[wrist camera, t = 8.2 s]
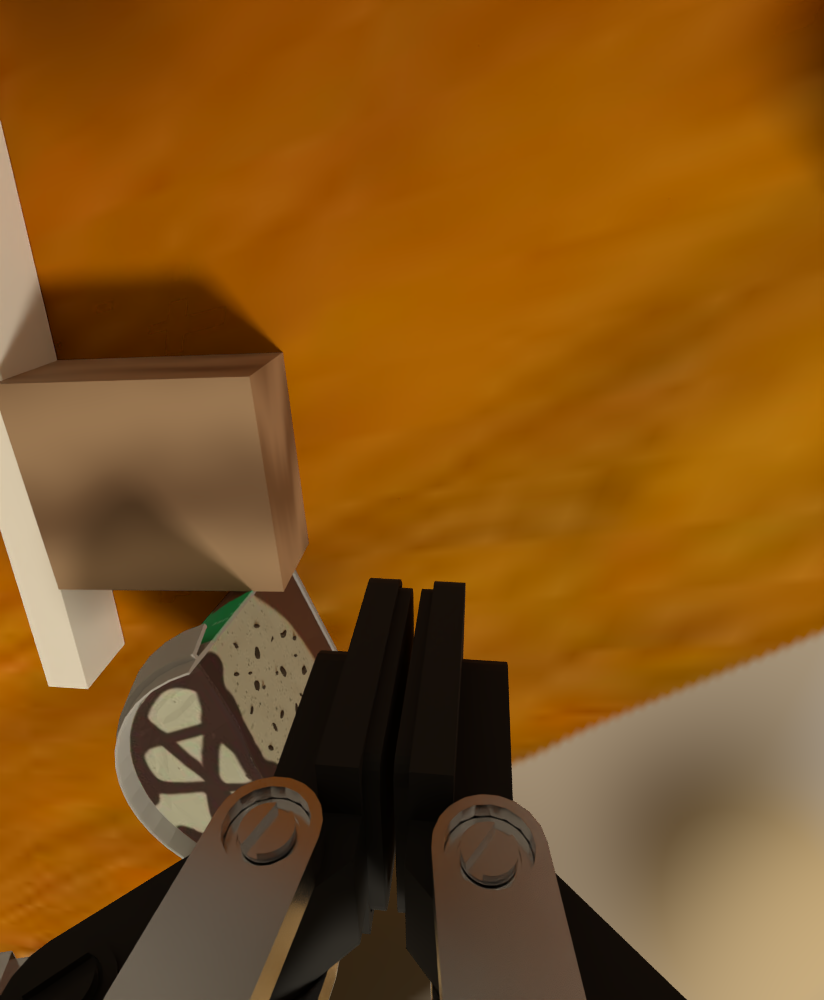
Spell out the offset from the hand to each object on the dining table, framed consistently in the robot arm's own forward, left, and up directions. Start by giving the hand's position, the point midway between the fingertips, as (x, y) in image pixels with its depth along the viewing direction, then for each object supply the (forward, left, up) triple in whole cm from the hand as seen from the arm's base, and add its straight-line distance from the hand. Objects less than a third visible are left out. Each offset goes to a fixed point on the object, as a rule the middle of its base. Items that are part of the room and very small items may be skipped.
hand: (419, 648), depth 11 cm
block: (+3, -12, -17) cm, 21 cm away
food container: (+13, -9, -17) cm, 23 cm away
